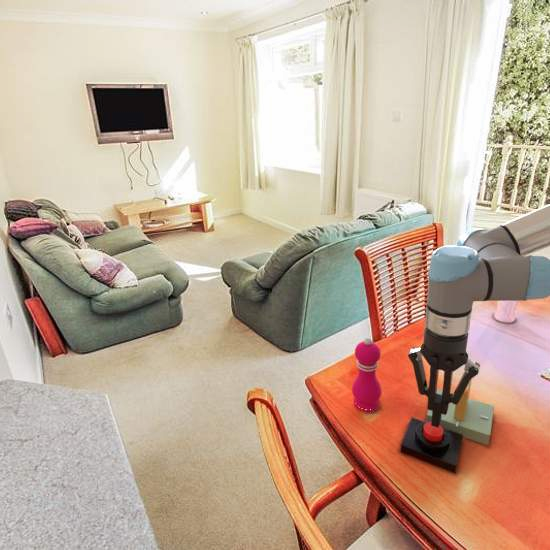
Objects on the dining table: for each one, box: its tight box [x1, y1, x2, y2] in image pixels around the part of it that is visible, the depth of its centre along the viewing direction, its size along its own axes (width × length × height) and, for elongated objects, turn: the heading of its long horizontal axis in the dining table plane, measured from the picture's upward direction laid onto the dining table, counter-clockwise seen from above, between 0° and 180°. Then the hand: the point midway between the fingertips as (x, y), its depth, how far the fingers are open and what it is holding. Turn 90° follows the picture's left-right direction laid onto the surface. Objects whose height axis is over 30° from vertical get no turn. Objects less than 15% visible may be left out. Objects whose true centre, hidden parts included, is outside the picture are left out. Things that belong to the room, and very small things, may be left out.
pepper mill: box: [351, 336, 382, 413], centre depth 92 cm, size 7×7×20 cm
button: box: [423, 422, 444, 442], centre depth 81 cm, size 4×4×2 cm
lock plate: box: [425, 388, 495, 446], centre depth 88 cm, size 13×11×3 cm
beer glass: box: [493, 301, 520, 324], centre depth 123 cm, size 7×7×15 cm
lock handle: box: [454, 372, 473, 421], centre depth 86 cm, size 7×2×8 cm, turn 147°
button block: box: [400, 417, 464, 474], centre depth 82 cm, size 11×9×4 cm
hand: (436, 422), depth 79 cm, fingers closed
